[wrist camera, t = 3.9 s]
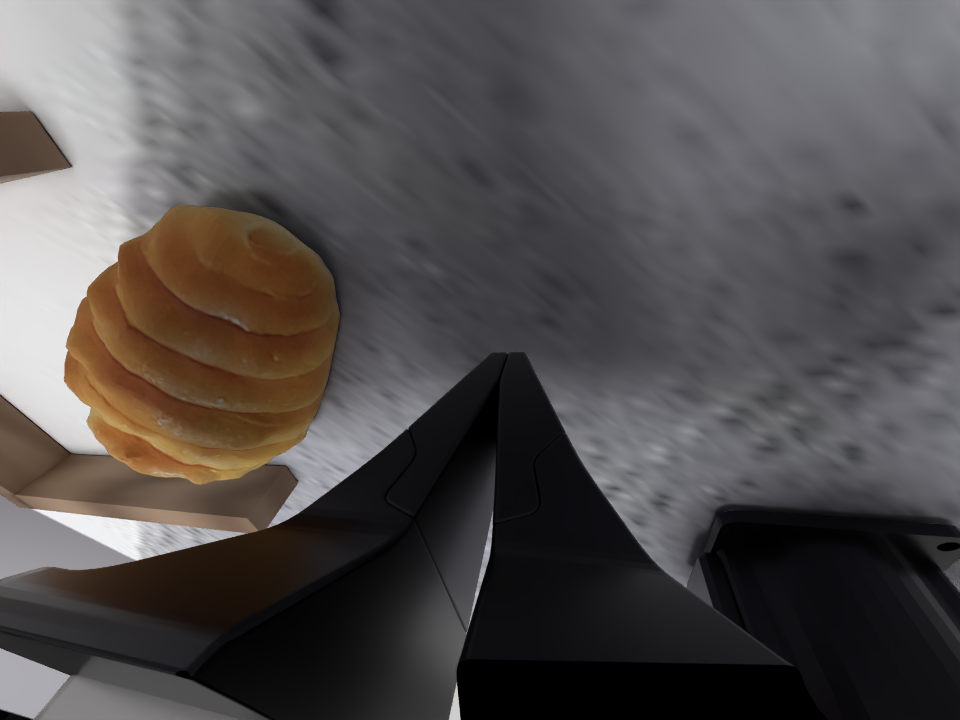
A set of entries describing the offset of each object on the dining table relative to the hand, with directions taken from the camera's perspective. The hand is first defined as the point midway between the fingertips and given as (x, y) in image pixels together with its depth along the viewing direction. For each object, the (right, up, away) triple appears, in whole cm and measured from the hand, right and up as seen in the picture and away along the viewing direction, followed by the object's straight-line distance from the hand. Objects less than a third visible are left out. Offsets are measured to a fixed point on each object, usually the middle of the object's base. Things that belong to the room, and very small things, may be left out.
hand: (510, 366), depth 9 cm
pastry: (-9, +1, +3) cm, 9 cm away
